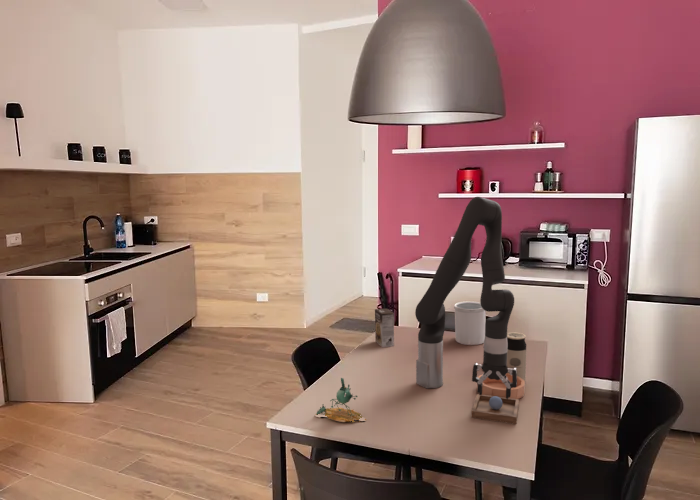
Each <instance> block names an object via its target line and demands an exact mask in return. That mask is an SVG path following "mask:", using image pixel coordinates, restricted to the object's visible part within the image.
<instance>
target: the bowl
mask: <svg viewBox="0 0 700 500" xmlns="http://www.w3.org/2000/svg"><path fill="white" fill-rule="evenodd" d="M483 374H484V373H482V374H480V375H478V376H477V378H480V377H481V376H482V375H483ZM506 376H507V378H508V380H509V381H510V383H511V382H512V375H510V373H507V374H506ZM482 383H483V389H482V395H489V396H497V397H505V398H506V385H505V384H504V383H503V382H502V381H501V379H500V380H495V379H489V378H488V377H487V378H486V379H485V380H484V381H483V382H482ZM476 385H477V386H476V389H477V390H478V384H477V383H476ZM525 387H526V380H525V381H524V380H523V379H522V378H520V377H519V376H517V386H516V387H515V388H514V387H513V388H511V396H510V397H508V398H513V399H519V400H520V399H522V398H523V397H524V396H525V391H526V388H525Z"/></svg>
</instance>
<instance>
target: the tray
mask: <svg viewBox="0 0 700 500" xmlns="http://www.w3.org/2000/svg"><path fill="white" fill-rule="evenodd" d="M491 397H493V396H489V395H479V393H477V394H476V397H475V399H474V402H473V405H472V408H471V419H472V418H473V419H479V420H485V421H492V422H500V423H505V422H507V423H506V424H512V423H513V424H514V425H516V424H517V421H518V413H519V409H520V399H513V398H508V399H506V398H505V397H499V398H501V400H502V402H503V405H502V407H501V408H500V409H498V410H494V409H492V408H491V407H490V405H489V400H490V398H491Z"/></svg>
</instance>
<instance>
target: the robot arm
mask: <svg viewBox="0 0 700 500" xmlns="http://www.w3.org/2000/svg"><path fill="white" fill-rule="evenodd" d="M502 221H503V213H502V207H501V205H500V204H499V203H498V202H497V201H495V200H492V199H489V198H485V197H483V196H475V197H473V198H472V199H471V200H469V202H468V203H467V205H466V206H465V209H464V212H463V214H462V217H461V220H460V222H459V225H458V226H457V229H456V231H455V233H454V236H453V238H452V240H451V242H450V244H449V246H448V248H447V249H446V251H445V253H444V255H443V257H442V259H441V261H440V262H439V265H438V267H437V269H436V271H435V273H434V276H433V278H432V280H431V283H430V285H429V287H428V289H427V290H426V292H425V293H424V294H423V296H422V297H421V299H420V301H419V302H418V303H417V305H416V307H415V312H414V314H415V318H416V320H417V322H418V323H419V324H420V328H419V331H418V332H417V333H418V334H417V335H418V337H417V338H418V341H417V348H418V349H417V350H418V351H417V352H418V353H417V359H416V361H415V363H416V364H415V369H416V370H415V371H416V372H415V373H416V374H415V377H416V378H415V379H416V384H417V385H418V386H421V387H423V388H425V389H436V388H437V389H438V388H439V387H442V386H443V384H444V379H443V378H444V372H443V371H444V370H443V369H444V368H443V367H444V364H443V363H444V335H445V329H446V306H445V304H444V302H445V301H446V299H447V297H448V296H449V294H450V293H451V292H452V291H453V289H454V288H455V287H456V286H457V285H458V283H459V282H460V281H461V280H462V278H463V277H464V275H465V274H466V271H467V270H468V268H469V266H470V263H471V261H472V239H473V236H474V233H475V231H476V229H477V228H478V226H483V227H484V231H485V235H486V239H485V244H484V247H483V250H482V253H481V256H480V265H481V266H480V267H481V274H482V286H481V287H482V288H481V293H480V300H479V302H480V303H481V306H482V308H483V309H484V310H485V312H489V313H491V312H498V313H497V314H496V315H493V316H490V317H488V318H487V319H485V339H484V343H483V356H482V357H483V359H482V360H483V363H482V364H481V363H478V362H474V364H473V366H472V377H471V381H472V382H474V383H475V384H476V385H477V384H478V389H477V394H479V395H482V389H483V383H482V382H483V381H484V380H485V379H486V378H487V377H488V378H489V379H495V380H500V379H501V381H502V382H503V383H504V384H505V385H506V399H508V397H510V396H511V388H513V387H514V388H515V387H516V386H517V368H515V367H514V368H513V369H512V368H508V367H507V347H508V342H507V333H508V325H509V322H510V317H511V314H512V312H513V309H514V306H515V297H514V296H515V295H514V294H513V292H512V291H511V290H510V289H493V288H492V287H493V286H495V285H498V284H501V283H503V282H505V280H506V274H505V270H504V269H505V267H504V262H503V261H504V260H503V256H502V255H503V254H502V253H503V252H502V236H503V235H502V231H503V230H502V227H503V225H502V223H503V222H502ZM480 369H481V370H482V372H483V373H482V374H483V375H482V374H481V375H482V376H481V377H480V378H478V371H480ZM507 372H509V373H510V375H512V382H511V383H510V381H509V380H508V378H507V376H506V374H507Z"/></svg>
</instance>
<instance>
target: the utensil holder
mask: <svg viewBox="0 0 700 500" xmlns="http://www.w3.org/2000/svg"><path fill="white" fill-rule="evenodd" d="M453 308H454V331H455V332H454V333H455V336H454V337H455V342H457V343H459V344H461V345H468V346H476V345H481V344H484V339H485V322H486V314H487V311H485V310H484V309H483V308H482V306H481V303H480V301H466V300H465V301H458V302H456V303H455V304H454V305H453Z"/></svg>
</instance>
